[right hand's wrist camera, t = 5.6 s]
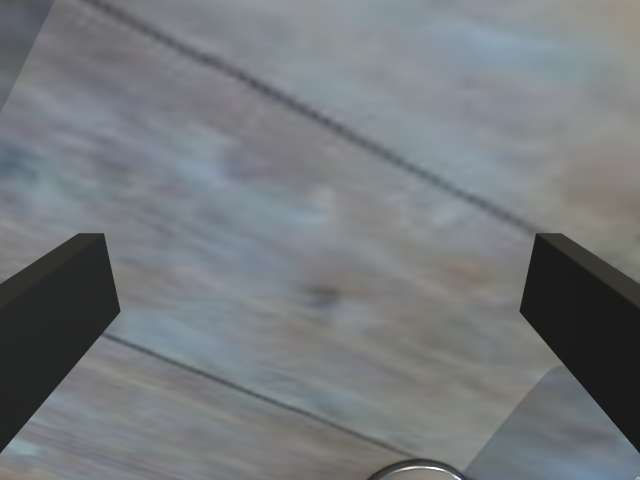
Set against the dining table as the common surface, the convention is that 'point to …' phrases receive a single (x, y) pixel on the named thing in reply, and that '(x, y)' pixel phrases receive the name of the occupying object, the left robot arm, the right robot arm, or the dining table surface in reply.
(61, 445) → the dining table surface
